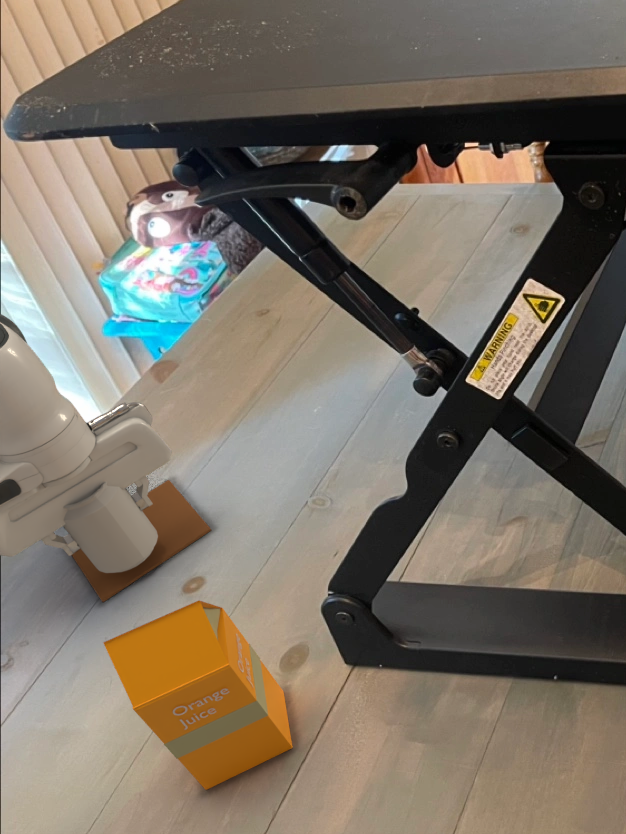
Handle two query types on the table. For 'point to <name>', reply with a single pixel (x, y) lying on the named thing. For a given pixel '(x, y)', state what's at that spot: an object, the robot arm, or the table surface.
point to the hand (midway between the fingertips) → (110, 527)
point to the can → (111, 529)
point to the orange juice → (203, 692)
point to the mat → (174, 534)
